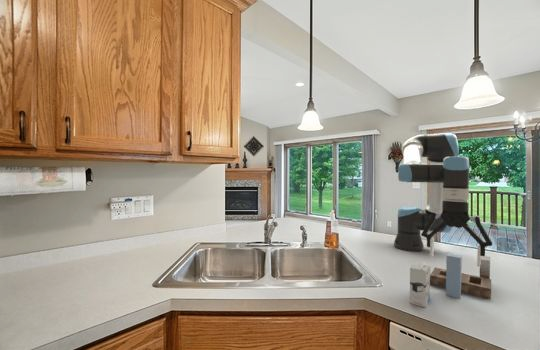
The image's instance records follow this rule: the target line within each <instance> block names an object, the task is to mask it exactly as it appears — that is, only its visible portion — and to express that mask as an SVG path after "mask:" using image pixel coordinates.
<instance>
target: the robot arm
mask: <svg viewBox="0 0 540 350" xmlns="http://www.w3.org/2000/svg"><path fill="white" fill-rule="evenodd" d="M459 150H460V148H459V142H458V137H457V136H456V134H454V133H430V134H418V135H415V136H413V137H410V138H409V139H407V140H406V141H405V142H404V143H403V144H402V147H401V154H402V156H403V163H400V164H399V165H398V170H397V171H398V174H397V175H398V176H397V177H398V178H397V179H398V181H399V182H401V183H402V182H403V183H405V182H406V183H429V191H428V192H429V195H428V204H427V205H426V206H425V209H422V208H421V207H420V206H403V207H400V208H398V211H397V234H396V236H395V238H394V241H393V246H394V247H395V248H397V249H400V250H403V251H404V250H405V251H410V252H411V251H412V252H421V251H423V250H425V249H424V247H425V245H424V242H423V239H422V237H424V238H426V246H427V248H429V258H433V257H434V256H435V255H434V253H435V251H434V250H435V238H433V237H434V236H435V235H436V234H437V233H445V234H446V233H450V232H451V231H452V230H453V228H454V227H455V228H459V229H460V228H463V229H464V230H465V231H467V232H468V234H469V235H470V236H471V237H472V238H473V239H474V240H475V241H476V242H477V243H478V245H477V253H476V256H477V259H476V260H477V261H476V262H477V263H476V264H477V265H476V266H477V267H480V265H481V256H486V247H491V246H493V241H492V240H491V238H490V236H489V234H488V233H487V231H486V229H485V227H484V226H483V224H482V222H481V217H480V216H479V215H475V216H474V215H473V216H470V214H469V206H470V205H469V202H468V200H469V199H470V198H469V195H470V187H469V186H470V185H469V183H470V181H469V180H470V179H469V178H470V175H469V174H470V166H471V165H470V160H469V159H470V158H469V157H467V156H461V155H460V156H459ZM423 158H427V161H428V162H429V163H424V162H423V161H424V160H423ZM469 221H472V223H474V224H475V226H476V227H477V229H478V230H479V232H480V234H481V235H482V237H483V239H484V241H483V239H482V238H481V237H480V236H479V235H478V234H477V233H476V232H475V230H474V229H472V227H471V226H470V225H469V224H468V222H469ZM421 231H422V232H421ZM428 232H430V233H428Z"/></svg>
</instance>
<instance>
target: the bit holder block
mask: <svg viewBox="0 0 540 350" xmlns="http://www.w3.org/2000/svg"><path fill="white" fill-rule="evenodd" d="M433 268H434V269H432V271H431V272H430V285H432V286H437V287H441V288H444V289H446V269H444V268H440V267H433ZM461 293H465V294H468V295H473V296H476V297H480V296H481V297H480V298H484V297H486V298H485V299H488V298H489V299H488V300H491V298H492V278H490V279H488V278H483V277H480V276H477V275H472V274H468V273H462V272H461Z"/></svg>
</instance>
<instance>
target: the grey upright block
mask: <svg viewBox="0 0 540 350" xmlns="http://www.w3.org/2000/svg"><path fill="white" fill-rule="evenodd" d="M479 277H483V278H488V279H491V256H487V255H485V256H481V265H480V266H479Z"/></svg>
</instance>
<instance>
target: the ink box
mask: <svg viewBox="0 0 540 350" xmlns="http://www.w3.org/2000/svg"><path fill="white" fill-rule="evenodd" d="M430 274H431V264H428V263H424V262H418V261H414V263H413V264H412V265H411V266H410V267H409V303H410V304H412V305H416V306H419V307H422V308H427V305H428V302H429V301H430V296H431V295H430V293H431V292H430V290H431V288H430V287H431V286H430V285H431V284H430Z"/></svg>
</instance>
